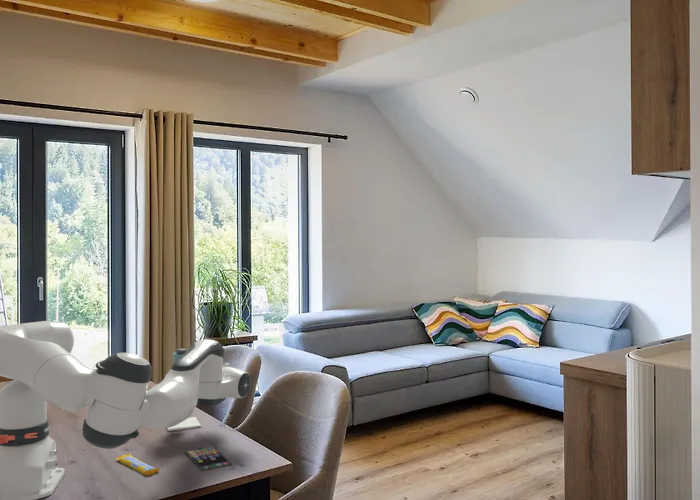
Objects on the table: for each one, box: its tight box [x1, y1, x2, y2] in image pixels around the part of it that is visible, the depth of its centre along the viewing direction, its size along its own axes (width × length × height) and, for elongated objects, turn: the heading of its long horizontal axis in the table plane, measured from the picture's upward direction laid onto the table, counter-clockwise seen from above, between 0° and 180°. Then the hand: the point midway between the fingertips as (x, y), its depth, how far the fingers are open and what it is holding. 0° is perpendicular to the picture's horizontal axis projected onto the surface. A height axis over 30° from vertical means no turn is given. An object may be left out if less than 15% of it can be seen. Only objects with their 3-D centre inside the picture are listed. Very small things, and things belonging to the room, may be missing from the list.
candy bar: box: [115, 453, 160, 477], centre depth 169 cm, size 17×4×2 cm, turn 46°
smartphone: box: [184, 446, 233, 472], centre depth 174 cm, size 8×15×1 cm, turn 31°
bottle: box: [172, 348, 188, 365], centre depth 204 cm, size 5×5×15 cm
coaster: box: [166, 416, 202, 432], centre depth 204 cm, size 10×10×1 cm
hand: (180, 372), depth 204 cm, fingers closed on bottle, 5 cm apart
